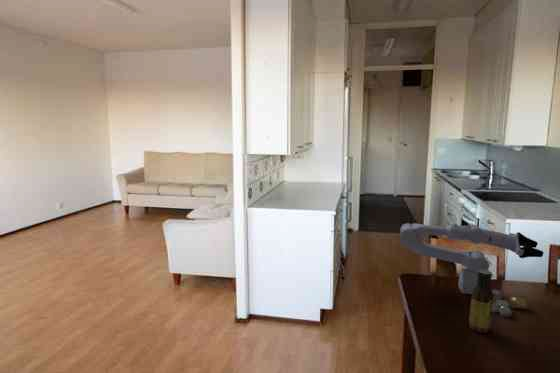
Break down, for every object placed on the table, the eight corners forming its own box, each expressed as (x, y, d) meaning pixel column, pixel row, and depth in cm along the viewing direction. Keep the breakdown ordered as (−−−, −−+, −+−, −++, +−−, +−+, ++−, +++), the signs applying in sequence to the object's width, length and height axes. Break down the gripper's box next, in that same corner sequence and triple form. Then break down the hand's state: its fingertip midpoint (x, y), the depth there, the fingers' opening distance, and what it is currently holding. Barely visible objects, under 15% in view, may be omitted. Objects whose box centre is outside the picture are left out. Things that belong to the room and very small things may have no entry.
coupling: (512, 309, 139) (513, 299, 138) (508, 304, 143) (509, 294, 142) (527, 311, 138) (528, 301, 137) (522, 306, 142) (524, 296, 141)
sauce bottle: (492, 335, 122) (500, 277, 119) (471, 332, 124) (478, 275, 120) (485, 324, 129) (492, 269, 125) (465, 322, 130) (472, 267, 126)
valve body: (493, 315, 134) (495, 304, 133) (482, 297, 148) (483, 287, 147) (511, 318, 133) (512, 306, 132) (497, 299, 147) (499, 288, 146)
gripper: (508, 239, 139) (549, 249, 136) (500, 223, 152) (538, 232, 149) (501, 255, 142) (542, 266, 139) (494, 238, 155) (531, 247, 151)
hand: (539, 249), depth 144 cm, fingers open, 7 cm apart
